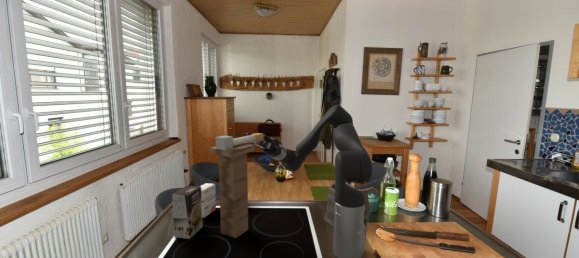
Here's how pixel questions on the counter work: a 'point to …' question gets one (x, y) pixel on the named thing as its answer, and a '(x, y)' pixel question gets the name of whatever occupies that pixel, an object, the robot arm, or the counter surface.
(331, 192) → the tankard
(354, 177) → the robot arm
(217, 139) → the hammer
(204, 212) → the ink box
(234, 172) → the stand
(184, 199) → the coffee box
